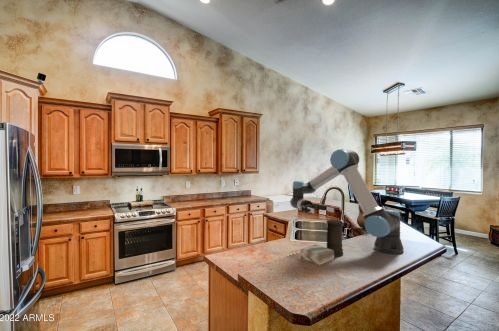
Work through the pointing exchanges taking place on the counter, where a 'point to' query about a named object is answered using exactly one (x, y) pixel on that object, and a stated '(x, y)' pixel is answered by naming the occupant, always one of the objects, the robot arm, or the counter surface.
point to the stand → (317, 254)
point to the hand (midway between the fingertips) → (323, 210)
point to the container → (334, 236)
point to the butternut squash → (361, 218)
